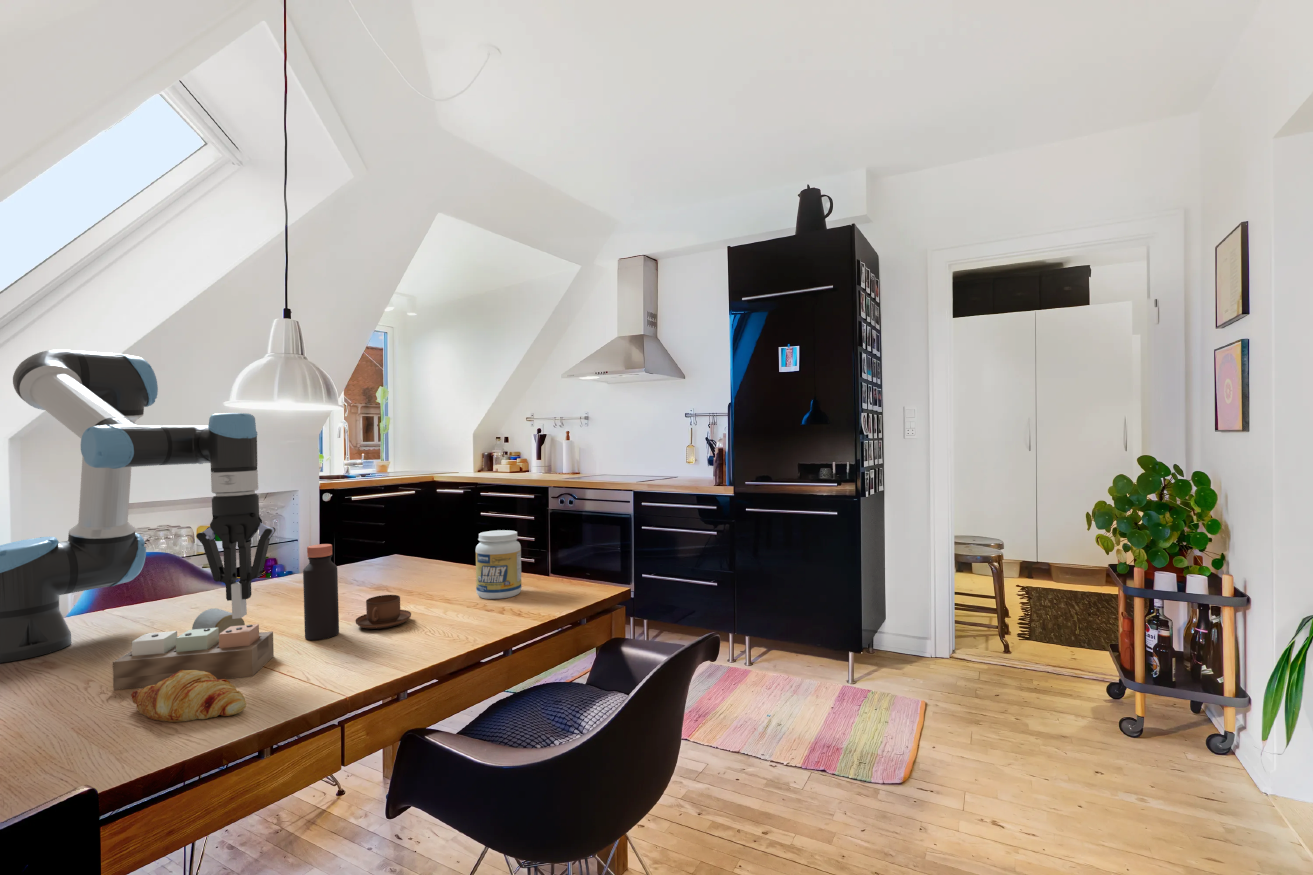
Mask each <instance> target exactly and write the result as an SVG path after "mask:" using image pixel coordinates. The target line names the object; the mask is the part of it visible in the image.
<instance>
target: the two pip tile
mask: <svg viewBox="0 0 1313 875" xmlns="http://www.w3.org/2000/svg"><path fill="white" fill-rule="evenodd" d="M218 642H219V628H206V629H194V630H192V629H188V630H187V631H185V632H183V633H182V634H180V635H177V638H176V652H183V651H194V650H205V649H209V648H211V647H212V646H214V645H215V644H216V643H218Z"/></svg>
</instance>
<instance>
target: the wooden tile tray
mask: <svg viewBox="0 0 1313 875" xmlns="http://www.w3.org/2000/svg"><path fill="white" fill-rule="evenodd" d="M274 650H275V649H274V631H264V632H263V631H261V632H259V639H258V640H257V641H255V642H254V643H253V644H252V645H249V646H238V647H227V648H219V642H218V643H216V644H215V645H214V646H212V647H211V648H209V649H205V650H194V651H183V652H176V646H175V647H174V648H172V649H171V650H169V651H168V652H166V653H160V654H149V655H138V656H132V650H130V651H129V652H128V653H126V654H123V655H122V656H121V657H119V658H117V659H115V660H113V661H112V683H113V684H112V685H113V686H112V687H113V688H112V689H113V691H119V690H128V689H129V690H130V689H136V688H137V689H138V688H140V689H141V688H145V687H147V686H150V685H156V684H157V683H158V682H161V681H162V680H163V679H166V678H169V677H170V676H171V675H173V674H175V673H177V672H179V671H180V670H198V671H206V672H209V673H211V674H212V675H213V676H215V677H216V679H217V680H218V679H226V680H229V679H230V680H231V679H240V678H248V677H254V676H255V675H256V673H258V672H259V671H260V670H261V669H262V668H263V667H264V666H265V665H266V664H267V663H268V662H269V661H270V660H271V659H273V658H274V656H275V654H274V652H275V651H274Z"/></svg>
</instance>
